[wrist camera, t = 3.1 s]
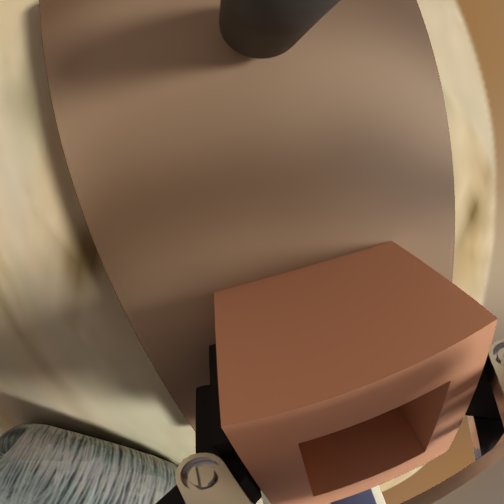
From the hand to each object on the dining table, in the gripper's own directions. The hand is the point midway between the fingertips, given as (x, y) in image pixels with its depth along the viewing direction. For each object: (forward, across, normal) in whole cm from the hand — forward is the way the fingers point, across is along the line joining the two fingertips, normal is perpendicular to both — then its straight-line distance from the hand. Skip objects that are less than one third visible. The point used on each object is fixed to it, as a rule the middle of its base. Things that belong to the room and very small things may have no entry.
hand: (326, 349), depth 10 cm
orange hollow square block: (+1, 0, 0) cm, 1 cm away
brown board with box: (+2, 0, -5) cm, 5 cm away
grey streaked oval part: (+2, +13, +7) cm, 15 cm away
